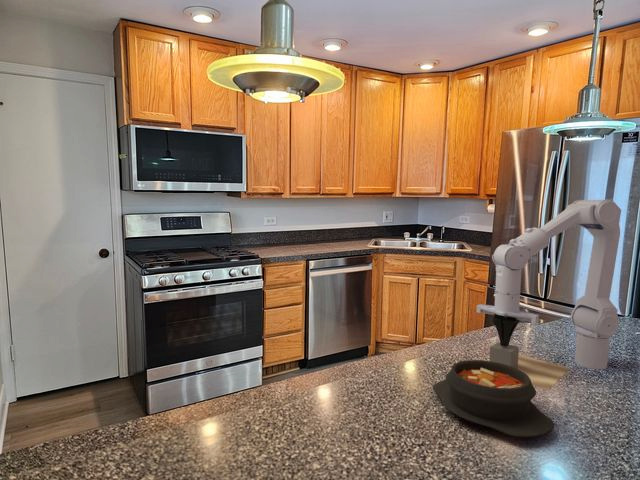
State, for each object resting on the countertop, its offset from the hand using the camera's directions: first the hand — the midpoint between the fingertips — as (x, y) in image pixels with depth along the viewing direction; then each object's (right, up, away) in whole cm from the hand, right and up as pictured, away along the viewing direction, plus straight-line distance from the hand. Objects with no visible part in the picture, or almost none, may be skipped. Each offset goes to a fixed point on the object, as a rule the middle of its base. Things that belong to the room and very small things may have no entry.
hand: (504, 345), depth 106 cm
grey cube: (0, -6, 0) cm, 6 cm away
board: (+5, -7, +1) cm, 9 cm away
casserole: (-13, -9, -21) cm, 26 cm away
